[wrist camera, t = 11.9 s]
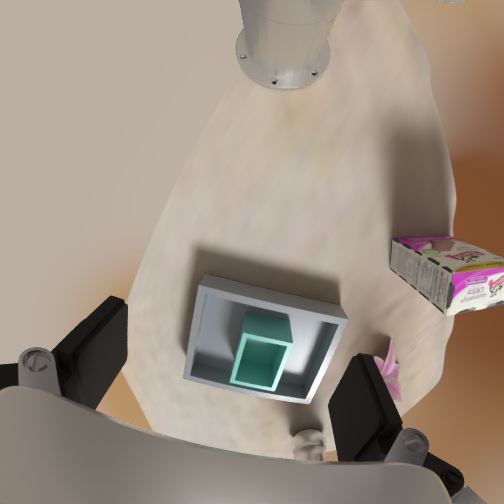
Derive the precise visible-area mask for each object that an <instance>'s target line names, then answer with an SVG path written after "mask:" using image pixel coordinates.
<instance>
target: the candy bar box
mask: <svg viewBox="0 0 504 504" xmlns="http://www.w3.org/2000/svg"><path fill="white" fill-rule="evenodd" d="M390 269H391V270H392V271H393V272H395V273H396V274H397V275H398V276H399V277H401V278H402V279H403V280H405V281H406V282H407V283H408V284H409V285H410V286H412V287H413V288H414V289H415V290H417V291H418V292H419V293H420V294H421V295H423V296H424V297H425V298H426V299H427V300H428V301H430V302H431V303H432V304H433V305H434V306H435V307H436V308H438V309H439V310H440V311H441V312H442V313H443V314H444V315H445V316H449V315H454V314H459V313H465V312H469V311H475V310H479V309H484V308H489V307H493V306H497V305H502V304H504V258H502V257H500V256H498V255H495V254H493V253H491V252H488V251H486V250H483V249H480V248H478V247H475V246H473V245H471V244H468V243H466V242H463V241H461V240H458V239H456V238H453V237H451V236H438V237H417V238H393V239H392V245H391V262H390Z"/></svg>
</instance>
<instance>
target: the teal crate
mask: <svg viewBox="0 0 504 504" xmlns="http://www.w3.org/2000/svg"><path fill="white" fill-rule="evenodd" d="M292 345H293V338H292V332H291V325H290V321H287V320H282V319H278V318H273V317H269V316H264V315H260V314H255V313H251V312H247V311H246V314H245V318H244V322H243V326H242V330H241V333H240V337H239V341H238V345H237V348H236V352H235V356H234V360H233V366H232V371H231V377H230V383H234V384H239V385H244V386H248V387H253V388H258V389H264V390H269V391H275V389H276V387H277V384H278V382H279V379H280V377H281V374H282V372H283V369H284V367H285V364H286V361H287V359H288V356H289V353H290V351H291V348H292Z"/></svg>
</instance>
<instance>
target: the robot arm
mask: <svg viewBox="0 0 504 504" xmlns="http://www.w3.org/2000/svg"><path fill="white" fill-rule="evenodd" d="M438 1H441V2H447V3H460V2H463V1H466V0H438ZM239 2H240V7H241V13H242V18H243V24H244V29H243V30H242V31H241V33H240V35H239V37H238V39H237V43H236V55H237V59H238V61H239V64H240V66H241V68H242V69H243V71H244V72H245V73H246V74H247V75H248V76H249V77H250V78H251V79H253V80H254V81H256V82H257V83H259V84H261V85H264V86H266V87H269V88H273V89H279V90H294V89H298V88H303V87H305V86H308V85H310V84H311V83H313V82H315V81H316V80H317V79H318V78H319V77H320V76H321V75H322V74H323V73H324V71H325V69H326V67H327V65H328V63H329V58H330V48H329V45H328V42H327V40H326V39H327V37H328V35H329V32H330V30H331V28H332V26H333V24H334V21H335V19H336V17H337V15H338V13H339V10H340V8H341V6H342V4H343V2H344V0H239ZM243 58H245V59H244V60H242V59H243ZM312 74H315V76H314V75H312ZM273 82H276V84H272V83H273ZM127 327H128V305H127V304H125V302H124V300H123V299H120V298H118V297H114V296H109V297H108V298H107V299H106V300H105V301H104V302H103V303H102V304H101V305H100V306H99V307H97V308H96V309H95V310H94V311H93V312H92V313H91V314H90V315H89V316H88V317H87V318H86V319H84V320H83V321H82V322H80V323H79V324H78V325H77V326H76V327H75V328H74V329H73V330H72V331H71V332H70V333H69V334H68V335H67V336H66V337H65V338H64V339H63V340H62V341H61V342H60V343H59V344H58V345H57V346H56V347H55V348H54V349H53V350H52V351H51V352H50V351H48V350H47V349H44V348H40V347H34V348H29V349H27V350H25V351H24V352H22V354H21V355H20V357H19V361H18V363H13V364H1V365H0V504H487V503H486V502H484V500H483V499H481V498H480V497H479V496H478V495H477V494H476V493H475V492H474V491H473V490H472V489H471V488H470V487H468V486H466V487H464V477H463V475H462V473H461V472H460V471H459V470H458V469H456V468H455V467H454V466H452V465H450V464H448V463H446V462H445V461H443V460H441V459H439V458H438V457H436V456H434V455H433V454H431V453H429V452H428V450H429V441H428V439H427V437H426V436H425V435H424V434H423V433H422V432H420V431H419V430H417V429H414V428H406V429H403V428H402V423H403V422H402V420H401V418H400V415H399V413H398V411H397V408H396V406H395V404H394V402H393V399H392V397H391V395H390V393H389V390H388V388H387V386H386V384H385V382H384V379H383V377H382V375H381V373H380V371H379V369H378V367H377V364H376V362H375V360H374V358H373V356H372V355H369V354H361V353H359V354H357V356H353V357H352V359H351V361H350V363H349V365H348V367H347V369H346V371H345V373H344V375H343V377H342V378H341V380H340V382H339V384H338V386H337V388H336V390H335V391H334V393H333V395H332V397H331V398H330V400H329V404H328V409H329V414H330V419H331V424H332V429H333V434H334V439H335V445H336V450H337V456H338V461H339V462H331V461H307V460H294V459H283V458H274V457H266V456H258V455H251V454H245V453H239V452H233V451H228V450H223V449H218V448H213V447H209V446H204V445H200V444H196V443H192V442H188V441H184V440H180V439H177V438H173V437H169V436H166V435H163V434H159V433H156V432H153V431H150V430H147V429H144V428H141V427H138V426H135V425H132V424H130V423H127V422H124V421H121V420H119V419H116V418H113V417H111V416H108V415H106V414H103V413H101V412H98V411H96V410H95V409H96V408H97V406H98V404H99V403H100V401H101V400H102V398H103V397H104V395H105V393H106V392H107V390H108V389H109V387H110V386H111V384H112V383H113V381H114V379H115V378H116V376H117V374H118V373H119V372H120V370H121V369H122V367H123V366H124V364H125V362H126V360H127V355H128V351H127Z"/></svg>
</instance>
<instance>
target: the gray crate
mask: <svg viewBox="0 0 504 504" xmlns="http://www.w3.org/2000/svg"><path fill="white" fill-rule="evenodd" d="M246 311H247V312H251V313H255V314H260V315H264V316H269V317H273V318H278V319H282V320H287V321H290V325H291V332H292V338H293V345H292V348H291V351H290V353H289V356H288V359H287V361H286V364H285V367H284V369H283V372H282V374H281V377H280V379H279V382H278V384H277V387H276V389H275V391H269V390H264V389H258V388H253V387H248V386H244V385H239V384H234V383H230V377H231V371H232V366H233V360H234V356H235V352H236V348H237V345H238V341H239V337H240V333H241V330H242V326H243V322H244V318H245V314H246ZM347 321H348V318H347V316H346V314H345V312H344V311H343V309H342V307H341V305H337V304H332V303H328V302H323V301H319V300H314V299H310V298H305V297H301V296H297V295H292V294H288V293H284V292H279V291H275V290H271V289H267V288H262V287H258V286H254V285H250V284H246V283H242V282H238V281H234V280H230V279H226V278H222V277H218V276H214V275H210V274H205V275H204V277H203V279H202V280H201V282H200V284H199V286H198V291H197V297H196V302H195V308H194V314H193V319H192V325H191V331H190V337H189V343H188V349H187V355H186V362H185V368H184V375H183V379H187V380H190V381H194V382H198V383H201V384H205V385H209V386H213V387H217V388H222V389H226V390H230V391H235V392H239V393H244V394H249V395H254V396H259V397H265V398H270V399H276V400H282V401H289V402H296V403H303V404H310V402H311V400H312V398H313V396H314V394H315V392H316V390H317V388H318V386H319V384H320V382H321V380H322V378H323V375H324V373H325V371H326V369H327V367H328V365H329V363H330V360H331V358H332V356H333V354H334V352H335V349H336V347H337V345H338V342H339V340H340V338H341V335H342V333H343V331H344V328H345V326H346V323H347Z"/></svg>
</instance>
